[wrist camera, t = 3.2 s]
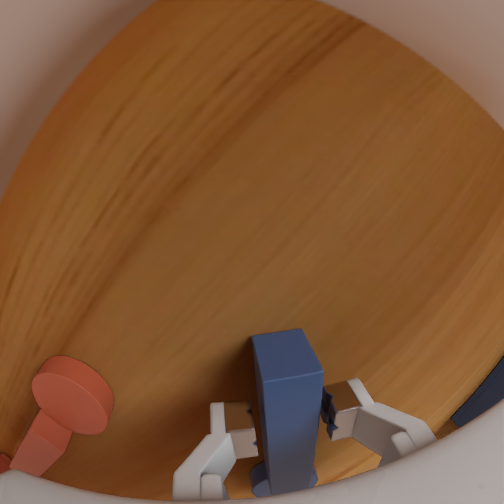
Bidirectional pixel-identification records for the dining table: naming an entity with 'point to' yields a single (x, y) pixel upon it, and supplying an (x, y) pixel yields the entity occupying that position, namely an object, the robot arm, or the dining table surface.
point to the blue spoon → (286, 411)
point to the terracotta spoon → (62, 412)
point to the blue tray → (482, 397)
